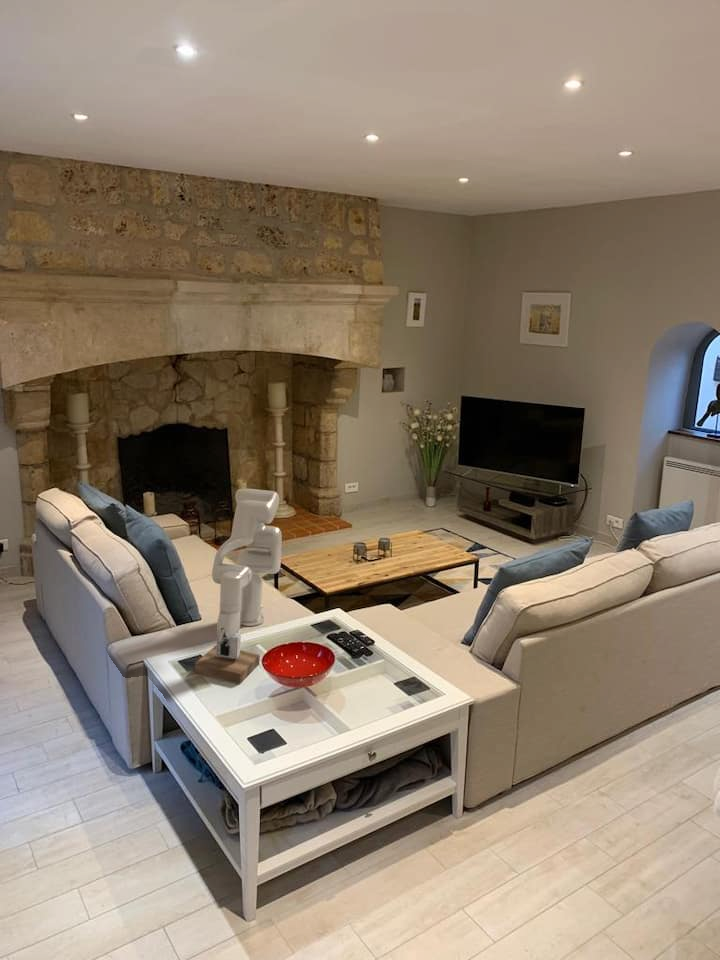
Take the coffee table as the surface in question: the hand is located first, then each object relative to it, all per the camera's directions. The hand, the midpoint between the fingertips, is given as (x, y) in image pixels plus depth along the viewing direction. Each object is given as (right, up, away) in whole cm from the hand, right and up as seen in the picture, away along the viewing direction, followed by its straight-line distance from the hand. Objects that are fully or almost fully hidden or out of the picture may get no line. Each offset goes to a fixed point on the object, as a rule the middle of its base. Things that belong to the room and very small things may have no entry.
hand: (228, 651), depth 265 cm
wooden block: (-1, -7, +1) cm, 7 cm away
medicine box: (0, -2, 0) cm, 2 cm away
